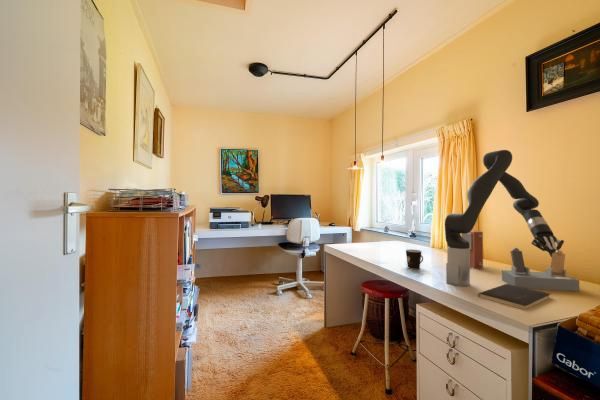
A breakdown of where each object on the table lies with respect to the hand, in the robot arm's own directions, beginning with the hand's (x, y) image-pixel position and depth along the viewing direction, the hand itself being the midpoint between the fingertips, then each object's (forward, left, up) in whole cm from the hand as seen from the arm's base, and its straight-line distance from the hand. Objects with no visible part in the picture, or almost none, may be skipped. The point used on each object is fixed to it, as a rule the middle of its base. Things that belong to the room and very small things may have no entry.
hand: (556, 257), depth 124 cm
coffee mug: (-29, +54, -13) cm, 63 cm away
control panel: (+6, +42, -13) cm, 44 cm away
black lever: (-10, +9, -8) cm, 16 cm away
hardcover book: (-32, +2, -14) cm, 35 cm away
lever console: (-5, +5, -13) cm, 15 cm away
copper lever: (0, 0, -8) cm, 8 cm away
